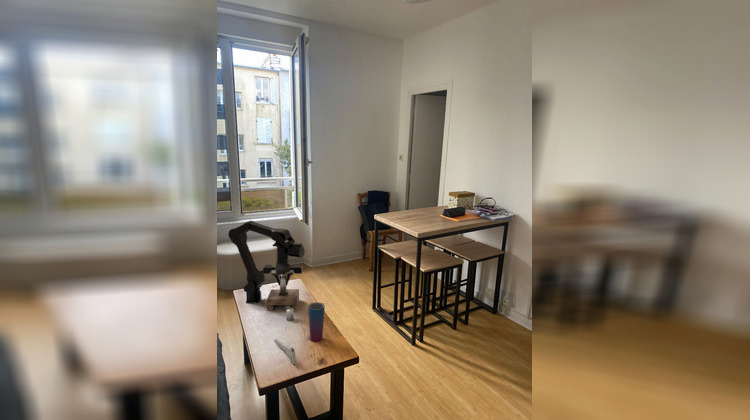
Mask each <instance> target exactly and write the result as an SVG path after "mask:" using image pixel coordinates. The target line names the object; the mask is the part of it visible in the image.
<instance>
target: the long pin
mask: <svg viewBox="0 0 750 420" xmlns="http://www.w3.org/2000/svg"><path fill="white" fill-rule="evenodd" d="M286 281H287V274H286V275H280V286H279V289H280V293H286V292H287V286H288V285H287V286H286Z"/></svg>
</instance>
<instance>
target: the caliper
mask: <svg viewBox="0 0 750 420" xmlns="http://www.w3.org/2000/svg"><path fill="white" fill-rule="evenodd" d="M273 341H274V343H275V344H276V345H277V346H278V347H280V348H281V349H282V350H283V351H284V352H285V354H286V355H287V356H289V360H290V364H292V365H293V366H294V365H296V364H297V362H296V361H297V359H296V351H295V347H293V346H292V347H290V346H287V345H286V344H284V343H283V342H282V341H281V340H280V339H278V338H275V339H273Z"/></svg>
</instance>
